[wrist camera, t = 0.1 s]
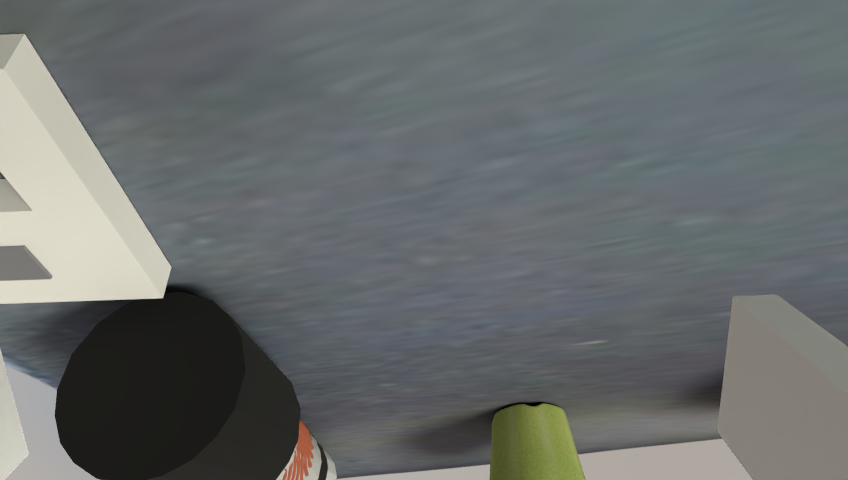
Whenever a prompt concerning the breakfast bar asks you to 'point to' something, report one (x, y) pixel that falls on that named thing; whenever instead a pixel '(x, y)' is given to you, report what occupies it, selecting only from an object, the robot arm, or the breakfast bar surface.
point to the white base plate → (62, 200)
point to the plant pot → (533, 445)
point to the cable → (182, 400)
